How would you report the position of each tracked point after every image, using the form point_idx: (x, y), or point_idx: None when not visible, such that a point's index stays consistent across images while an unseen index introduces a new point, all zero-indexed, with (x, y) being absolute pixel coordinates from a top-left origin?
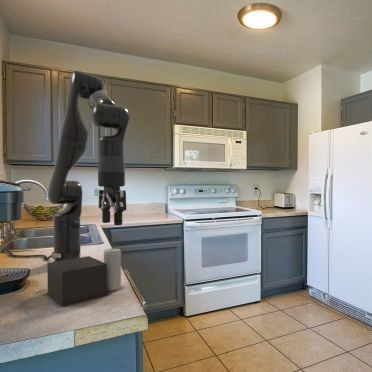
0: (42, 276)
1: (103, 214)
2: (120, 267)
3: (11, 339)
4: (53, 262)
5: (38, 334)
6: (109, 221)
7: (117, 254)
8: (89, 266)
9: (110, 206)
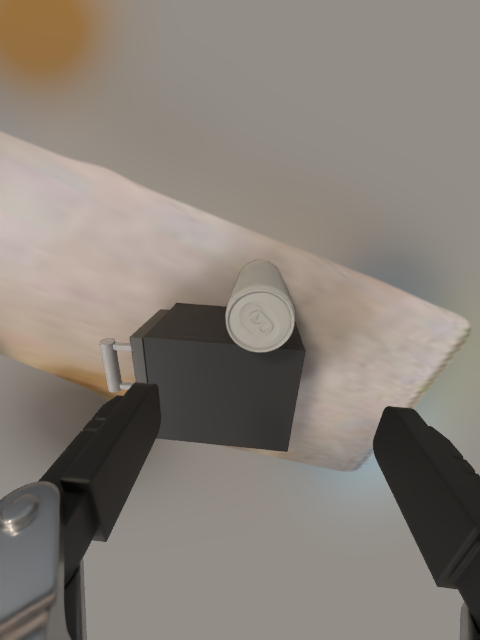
0: (30, 348)
1: (127, 497)
2: (279, 278)
3: (347, 467)
4: (160, 428)
5: (364, 447)
6: (154, 390)
7: (294, 311)
8: (290, 394)
9: (62, 579)
